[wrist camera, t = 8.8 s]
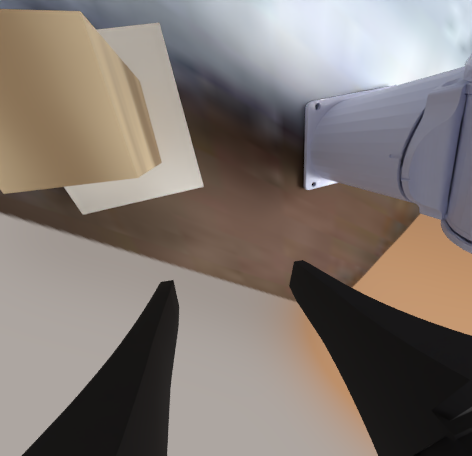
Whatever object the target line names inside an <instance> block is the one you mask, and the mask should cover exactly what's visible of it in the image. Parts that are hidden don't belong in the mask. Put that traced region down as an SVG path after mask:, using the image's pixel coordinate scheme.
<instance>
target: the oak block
mask: <svg viewBox="0 0 472 456" xmlns="http://www.w3.org/2000/svg"><path fill="white" fill-rule="evenodd" d="M161 163H162V161H161V157H160V154H159V150H158V146H157V143H156V139H155V135H154V131H153V128H152V124H151V120H150V117H149V113H148V109H147V106H146V102H145V98H144V94H143V91H142V87H141V83H140V81H139V79H138V78H137V77H136V76H135V75H134V74H133V72H132V71H131V70H130V69H129V68H128V67H127V65H126V64H125V63H124V62H123V61H122V60H121V58H120V57H119V56H118V55H117V54H116V53H115V51H114V50H113V49H112V48H111V47H110V46H109V44H108V43H107V42H106V41H105V40H104V38H103V37H102V36H101V35H100V34H99V33H98V31H97V30H96V29H95V28H94V27H93V26H92V24H91V23H90V22H89V21H88V20H87V19H86V17H85V16H84V15H83V14H82V13H81V12H80V11H51V10H18V9H0V190H1V191H2V192H3V194H7V193H15V192H24V191H32V190H41V189H49V188H57V187H66V186H74V185H83V184H91V183H100V182H108V181H117V180H125V179H133V178H139V177H140V176H142V175H143V174H145V173H147V172H148V171H150V170H151V169H153V168H154V167H156V166H158V165H159V164H161Z"/></svg>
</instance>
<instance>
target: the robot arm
mask: <svg viewBox="0 0 472 456" xmlns="http://www.w3.org/2000/svg"><path fill="white" fill-rule="evenodd" d="M316 104H317V105H318V108H317V110H316V109H315V105H316ZM313 182H314V184H313V186H312V183H313ZM334 183H342V184H346V185H349V186H353V187H357V188H361V189H364V190H368V191H372V192H375V193H379V194H383V195H386V196H390V197H394V198H397V199H401V200H405V201H408V202H412V203H415V204H417V205H418V206H419V211H420V213H421V214H424V215H427V216H430V217H434V218H437V219H440V220H441V227H442V230H443V232H444V233H445V235H446V236H447V238H449V239H450V240H451V241H452V242H453V243H454V244H456V245H457V246H459V247H460V248H462V249H463V250H466V251H468V252H469V253H471V254H472V55H471V56H470V57H469V58H468V59H467V61H466V63H465V67H461V68H457V69H454V70H450V71H447V72H443V73H440V74H436V75H433V76H429V77H425V78H422V79H418V80H415V81H411V82H408V83H404V84H401V85H394V86H388V87H383V88H378V89H372V90H367V91H362V92H356V93H351V94H345V95H340V96H335V97H329V98H324V99H319V100H313V101H310V102H308V103H307V105H306V108H305V146H304V188H305V189H307V190H311V189H315V188H319V187H323V186H327V185H330V184H334ZM289 286H290V288H291V290H292V293H293V295H294V297H295V299H296V301H297V302H298V304H299V305H300V307H301V308H302V310H303V312H304V313H305V315H306V316H307V318H308V319H309V321H310V322H311V324H312V325H313V327H314V328H315V330H316V331H317V333H318V334H319V336H320V337H321V339H322V341H323V342H324V344H325V346H326V348H327V349H328V351H329V353H330V355H331V357H332V359H333V361H334V362H335V364H336V366H337V368H338V370H339V372H340V374H341V376H342V378H343V380H344V382H345V384H346V385H347V388H348V390H349V392H350V394H351V396H352V398H353V400H354V402H355V404H356V406H357V409H358V410H359V413H360V415H361V417H362V420H363V422H364V424H365V426H366V428H367V431H368V433H369V435H370V437H371V439H372V442H373V444H374V447H375V449H376V451H377V454H378V456H472V336H470V335H467V334H464V333H461V332H457V331H454V330H451V329H449V328H446V327H443V326H440V325H437V324H434V323H431V322H428V321H426V320H423V319H420V318H417V317H415V316H413V315H410V314H407V313H405V312H403V311H400V310H397V309H395V308H393V307H390V306H388V305H386V304H384V303H381V302H379V301H377V300H375V299H373V298H371V297H368V296H367V295H364V294H362V293H361V292H359V291H357V290H355V289H353V288H351V287H349V286H347V285H345V284H344V283H342V282H340V281H338V280H336V279H335V278H333V277H331V276H330V275H328V274H326V273H324V272H323V271H321V270H319V269H318V268H316V267H314V266H312V265H311V264H309V263H307V262H305V261H303V260H302V261H295V262H294V265H293V270H292V275H291V280H290V285H289ZM178 322H179V304H178V299H177V295H176V291H175V285H174V281H173V280H171V281H165V282H161V283H160V284H159V286H158V288H157V289H156V291H155V293H154V295H153V296H152V298H151V300H150V301H149V303H148V304H147V306H146V308H145V309H144V311H143V312H142V314H141V315H140V317H139V318H138V320H137V321H136V323H135V324H134V326H133V327H132V329H131V330H130V331H129V333H128V334H127V335H126V337H125V338H124V339H123V341H122V342H121V344H120V345H119V346H118V348H117V349H116V350H115V351H114V353H113V354H112V355H111V357H110V358H109V359H108V360H107V362H106V363H105V364H104V365H103V366H102V368H101V369H100V370H99V371H98V373H97V374H96V375H95V376H94V377H93V378H92V380H91V381H90V382H89V383H88V384H87V385H86V387H85V388H84V389H83V390H82V391H81V392H80V394H79V395H78V396H77V397H76V398H75V399H74V400H73V402H72V403H71V404H70V405H69V406H68V407H67V408H66V409H65V410H64V411H63V412H62V413H61V415H60V416H59V417H58V418H57V419H56V420H55V421H54V422H53V423H52V424H51V425H50V426H49V427H48V428H47V429H46V430H45V432H44V433H43V434H42V435H41V436H40V437H39V438H38V439H37V440H36V441H35V442H34V443H33V444H32V445H31V446H30V447H29V449H28V450H27V451H26V452H25V453H24V454H23V455H22V456H167V443H168V423H169V404H170V387H171V377H172V370H173V362H174V355H175V347H176V340H177V333H178V325H179V323H178Z"/></svg>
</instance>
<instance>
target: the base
mask: <svg viewBox="0 0 472 456" xmlns="http://www.w3.org/2000/svg"><path fill="white" fill-rule="evenodd" d="M97 31H98V33H99V34H100V35H101V36H102V37H103V38H104V40H105V41H106V42H107V43H108V44H109V46H110V47H111V48H112V49H113V50H114V51H115V53H116V54H117V55H118V56H119V57H120V58H121V60H122V61H123V62H124V63H125V64H126V65H127V67H128V68H129V69H130V70H131V71H132V72H133V74H134V75H135V76H136V77H137V78H138V79H139V81H140V83H141V87H142V91H143V94H144V98H145V102H146V106H147V109H148V113H149V117H150V120H151V124H152V128H153V131H154V135H155V139H156V143H157V146H158V150H159V154H160V157H161V161H162V163H161V164H159V165H158V166H156V167H154V168H153V169H151V170H150V171H148V172H147V173H145V174H143V175H142V176H140V177H139V178H133V179H125V180H117V181H108V182H100V183H91V184H83V185H74V186H66V187H64V188H65V189H66V191H67V192H68V194H69V195H70V197H71V198H72V200H73V201H74V203H75V204H76V206H77V207H78V208H79V210H80V211H81V213H82V214H83V215H84V214H88V213H93V212H97V211H101V210H105V209H110V208H114V207H118V206H123V205H127V204H131V203H136V202H140V201H144V200H148V199H153V198H157V197H161V196H166V195H170V194H174V193H178V192H183V191H187V190H191V189H196V188H200V187H204V186H203V182H202V178H201V174H200V171H199V167H198V163H197V160H196V156H195V152H194V149H193V145H192V141H191V137H190V134H189V130H188V126H187V123H186V119H185V115H184V112H183V108H182V104H181V100H180V97H179V93H178V89H177V86H176V82H175V78H174V75H173V71H172V67H171V63H170V60H169V56H168V52H167V49H166V45H165V41H164V38H163V34H162V31H161V27H160V24H159V23H150V24H142V25H133V26H124V27H115V28H106V29H97Z"/></svg>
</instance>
